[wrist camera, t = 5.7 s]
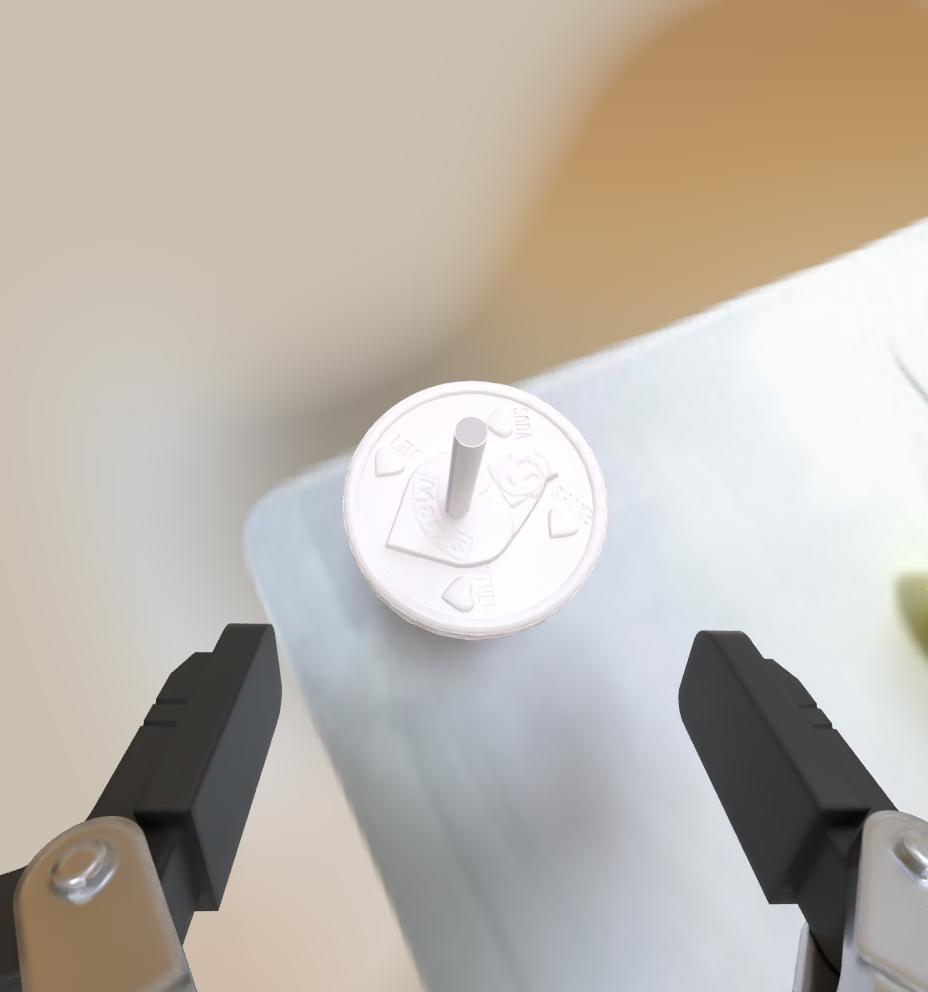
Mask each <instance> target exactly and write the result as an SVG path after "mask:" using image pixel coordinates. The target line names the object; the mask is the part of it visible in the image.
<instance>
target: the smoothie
mask: <svg viewBox="0 0 928 992" xmlns="http://www.w3.org/2000/svg"><path fill="white" fill-rule="evenodd" d="M343 516H344V525H345V529H346V534H347V539H348V542H349V545H350V547H351V550H352V553H353V556H354V559H355V562H356V565H357V568H358V570H359V571H360V573H361V574H362V576H363V577H364V579H365V580H366V582H367V583H368V584H369V586H370V587H371V589H372V590H373V592H374V593H375V595H376V596H377V598H379V599H380V600H381V601H382V602H383V603H385V604H386V605H387V606H388V607H389V608H391V609H392V610H393V611H394V612H395V613H397V614H398V615H399V616H400V617H401V618H403V619H404V620H405V621H407V622H409V623H412V624H414V625H416V626H418V627H421V628H423V629H425V630H427V631H429V632H432V633H434V634H436V635H439V636H446V637H452V638H458V639H465V640H471V641H476V640H485V639H494V638H503V637H509V636H512V635H514V634H517V633H519V632H522V631H524V630H526V629H529V628H531V627H534V626H536V625H539V624H541V623H542V622H544V621H545V620H546V619H547V618H549V617H550V616H551V615H553V614H554V613H555V612H556V611H558V610H559V609H560V608H562V607H563V606H564V605H565V604H567V603H568V602H569V600H570V599H571V598H572V597H573V596H574V595H575V594H576V593H577V592H578V590H579V589H580V588H581V587H582V585H583V584H584V583H585V582H586V580H587V578H588V577H589V575H590V574H591V572H592V570H593V568H594V566H595V564H596V562H597V560H598V558H599V555H600V553H601V550H602V547H603V543H604V539H605V535H606V528H607V517H608V506H607V495H606V488H605V484H604V480H603V476H602V473H601V470H600V468H599V465H598V462H597V460H596V458H595V456H594V454H593V452H592V450H591V449H590V447H589V445H588V444H587V442H586V441H585V439H584V438H583V437H582V435H581V434H580V432H579V431H578V430H577V429H576V428H575V427H574V426H573V424H572V423H571V422H570V421H569V420H567V419H566V418H565V417H564V416H563V415H562V414H561V413H560V412H558V411H557V410H556V409H555V408H553V407H552V406H550V405H549V404H547V403H546V402H544V401H542V400H541V399H539V398H537V397H535V396H533V395H531V394H529V393H526V392H524V391H522V390H519V389H516V388H513V387H510V386H506V385H502V384H496V383H490V382H480V381H465V382H464V381H463V382H453V383H447V384H442V385H438V386H435V387H431V388H428V389H425V390H423V391H420V392H418V393H415V394H413V395H411V396H409V397H407V398H405V399H404V400H402V401H401V402H399V403H398V404H396V405H395V406H393V407H392V408H391V409H390V410H388V411H387V412H386V413H384V414H383V415H382V416H381V418H379V419H378V420H377V421H376V422H375V424H374V425H373V426H372V427H371V428H370V429H369V430H368V432H367V433H366V435H365V436H364V438H363V439H362V441H361V442H360V444H359V446H358V447H357V449H356V451H355V453H354V456H353V458H352V460H351V463H350V466H349V469H348V472H347V476H346V480H345V485H344V494H343Z"/></svg>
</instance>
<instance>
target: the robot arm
mask: <svg viewBox="0 0 928 992" xmlns="http://www.w3.org/2000/svg"><path fill="white" fill-rule="evenodd" d="M281 696H282V685H281V677H280V669H279V662H278V654H277V646H276V639H275V632H274V628H273V626H272V625H271V624H235V623H233V624H231V623H230V624H228V625H227V626H226V627H225V629H224V631H223V632H222V634H221V637H220V639H219V640H218V642H217V644H216V646H215V648H214V650H213V652H195V653H194V654H192V655H191V656H190V657H189V658H188V659H187V660H186V661H185V662H183V663H182V664H181V665H180V666H179V667H178V668H177V669H175V670H174V671H173V672H172V673H171V674H170V676H169V677H168V679H167V681H166V683H165V684H164V686H163V688H162V690H161V692H160V693H159V695H158V697H157V699H156V704H153V706H152V707H151V709H150V711H149V712H148V714H147V716H146V718H145V720H144V725H143V726H140V728H139V730H138V732H137V733H136V735H135V737H134V739H133V740H132V742H131V744H130V746H129V747H128V749H127V751H126V753H125V754H124V756H123V758H122V759H121V761H120V763H119V765H118V766H117V768H116V770H115V772H114V774H113V775H112V777H111V779H110V781H109V782H108V784H107V786H106V787H105V789H104V791H103V793H102V795H101V796H100V798H99V800H98V802H97V803H96V805H95V807H94V808H93V810H92V812H91V813H90V815H89V816H88V818H87V819H86V820H85V821H84V822H82V823H80V824H78V825H75V826H74V827H72V828H70V829H68V830H66V831H64V832H63V833H61V834H60V835H58V836H57V837H56V838H54V839H53V840H52V841H51V842H50V843H48V844H47V845H46V846H45V847H44V848H42V849H41V850H40V852H39V853H38V854H37V855H36V856H35V857H34V858H33V859H32V861H31V862H30V863H29V865H27V866H25V867H23V868H20V869H17V870H15V871H12V872H9V873H6V874H3V875H0V992H197V990H196V987H195V984H194V980H193V977H192V974H191V971H190V968H189V965H188V962H187V959H186V956H185V953H184V950H183V947H182V945H183V943H184V940H185V937H186V934H187V931H188V928H189V925H190V922H191V919H192V917H193V913H194V911H218V910H219V907H220V904H221V900H222V897H223V894H224V891H225V887H226V884H227V881H228V878H229V875H230V872H231V868H232V865H233V862H234V859H235V856H236V852H237V849H238V846H239V843H240V840H241V836H242V833H243V830H244V827H245V824H246V820H247V817H248V814H249V811H250V807H251V804H252V801H253V798H254V795H255V792H256V788H257V785H258V782H259V779H260V776H261V772H262V769H263V766H264V763H265V760H266V756H267V753H268V750H269V747H270V743H271V740H272V737H273V734H274V731H275V727H276V724H277V721H278V717H279V713H280V706H281V698H282V697H281ZM678 700H679V710H680V714H681V718H682V721H683V723H684V725H685V728H686V730H687V732H688V734H689V736H690V738H691V740H692V742H693V744H694V747H695V749H696V751H697V753H698V755H699V757H700V759H701V761H702V763H703V766H704V768H705V770H706V772H707V774H708V776H709V778H710V780H711V782H712V785H713V787H714V789H715V791H716V793H717V795H718V797H719V799H720V801H721V804H722V806H723V808H724V810H725V812H726V814H727V816H728V818H729V820H730V823H731V825H732V827H733V829H734V831H735V833H736V835H737V837H738V839H739V842H740V844H741V846H742V848H743V850H744V852H745V854H746V856H747V858H748V861H749V863H750V865H751V867H752V869H753V871H754V873H755V875H756V877H757V879H758V882H759V884H760V886H761V888H762V890H763V892H764V894H765V896H766V898H767V901H768V903H769V904H798V905H799V907H800V909H801V911H802V913H803V915H804V917H805V919H806V921H805V923H804V925H803V927H802V929H801V933H800V939H799V947H798V954H797V961H796V968H795V976H794V983H793V990H792V992H928V822H926V821H924V820H922V819H920V818H917V817H915V816H913V815H910V814H907V813H903V812H899V811H898V810H897V808H896V807H895V806H894V805H893V803H892V802H891V801H890V799H889V798H888V797H887V795H886V794H885V793H884V791H883V790H882V789H881V788H880V786H879V785H878V784H877V782H876V781H875V780H874V778H873V777H872V776H871V774H870V773H869V772H868V770H867V769H866V768H865V766H864V765H863V764H862V763H861V761H860V760H859V759H858V757H857V756H856V755H855V753H854V752H853V751H852V749H851V748H850V747H849V745H848V744H847V743H846V741H845V740H844V739H843V738H842V736H841V735H840V734H839V732H838V731H837V730H836V729H833V728H832V723H831V722H830V720H829V719H828V718H827V717H826V715H825V714H824V713H823V711H822V710H821V709H818V708H817V703H816V702H815V701H814V699H813V698H812V697H811V695H810V694H809V693H808V692H807V690H806V689H805V688H804V686H803V685H802V684H801V682H800V681H799V680H798V679H797V678H796V677H794V676H793V675H792V674H791V673H789V672H788V671H787V670H785V669H784V668H783V667H782V666H780V665H779V664H778V663H777V662H775V661H774V660H773V659H764V658H763V657H762V655H761V654H760V652H759V651H758V650H757V648H756V647H755V646H754V644H753V643H752V641H751V640H750V639H749V637H748V636H747V635H746V634H745V633H743V632H741V631H700V632H698V633H697V635H696V637H695V639H694V642H693V645H692V649H691V652H690V655H689V658H688V662H687V665H686V668H685V671H684V675H683V678H682V681H681V685H680V688H679V697H678Z"/></svg>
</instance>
